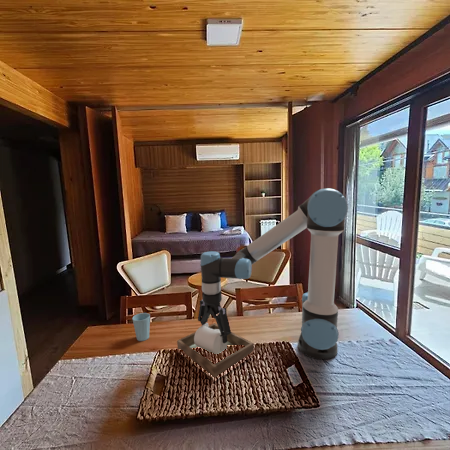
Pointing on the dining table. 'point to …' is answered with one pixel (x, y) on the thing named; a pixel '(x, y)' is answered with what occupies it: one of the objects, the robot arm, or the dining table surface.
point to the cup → (142, 326)
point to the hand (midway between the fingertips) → (214, 344)
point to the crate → (218, 368)
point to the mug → (208, 339)
